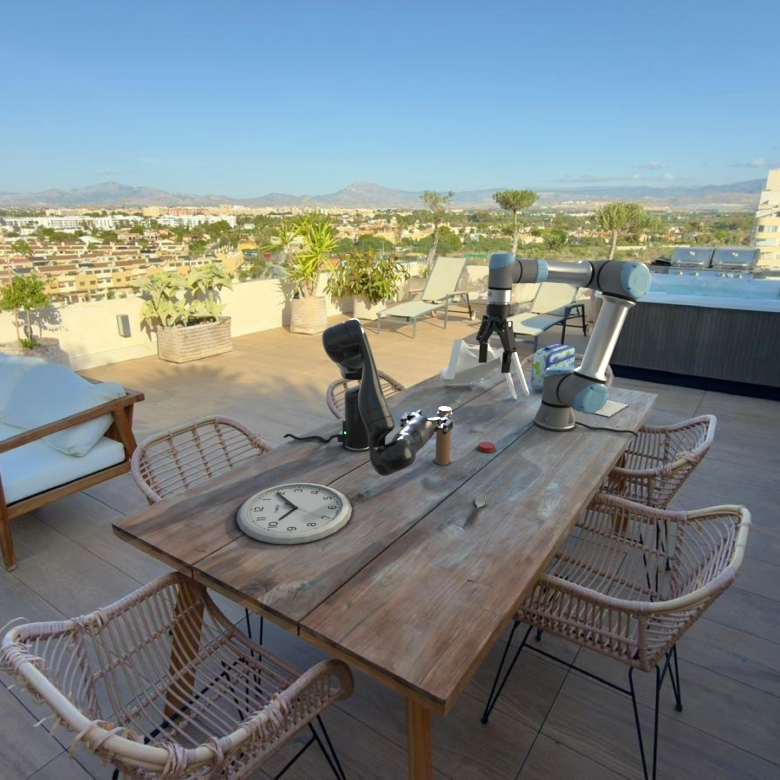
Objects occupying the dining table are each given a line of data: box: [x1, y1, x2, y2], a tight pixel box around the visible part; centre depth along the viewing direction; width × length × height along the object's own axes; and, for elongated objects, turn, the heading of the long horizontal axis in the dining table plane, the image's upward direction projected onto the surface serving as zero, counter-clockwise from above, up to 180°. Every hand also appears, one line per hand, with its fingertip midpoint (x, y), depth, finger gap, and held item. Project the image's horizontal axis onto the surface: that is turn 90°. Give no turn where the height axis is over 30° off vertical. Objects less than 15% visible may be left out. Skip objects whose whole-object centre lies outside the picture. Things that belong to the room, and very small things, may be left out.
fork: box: [469, 491, 487, 526], centre depth 140 cm, size 3×16×2 cm, turn 160°
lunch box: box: [530, 343, 576, 392], centre depth 248 cm, size 26×11×21 cm, turn 134°
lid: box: [477, 441, 496, 453], centre depth 181 cm, size 6×6×2 cm
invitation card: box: [594, 399, 629, 418], centre depth 226 cm, size 21×1×15 cm
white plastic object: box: [438, 338, 531, 400], centre depth 245 cm, size 37×45×31 cm
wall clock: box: [236, 482, 353, 545], centre depth 139 cm, size 30×2×30 cm
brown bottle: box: [434, 406, 453, 466], centre depth 168 cm, size 5×5×18 cm
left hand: (434, 414), depth 154 cm, fingers open, 8 cm apart
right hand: (493, 367), depth 172 cm, fingers open, 13 cm apart
